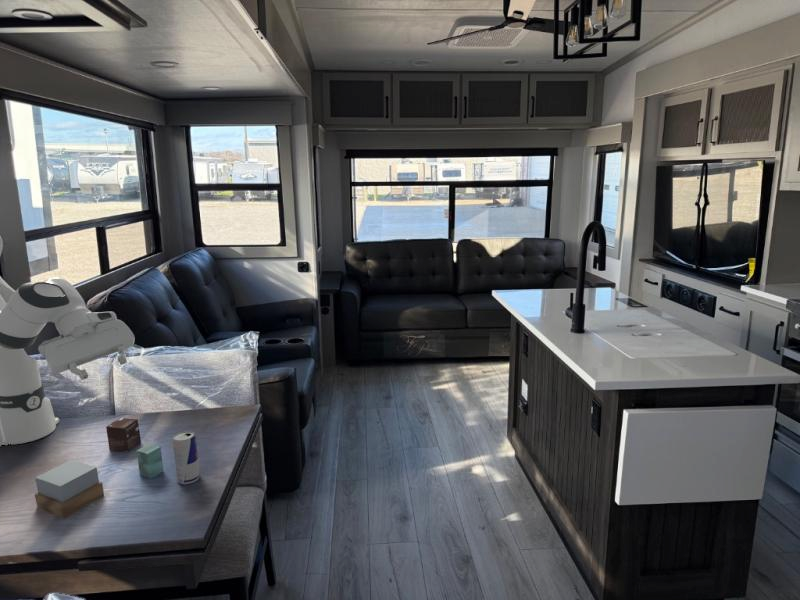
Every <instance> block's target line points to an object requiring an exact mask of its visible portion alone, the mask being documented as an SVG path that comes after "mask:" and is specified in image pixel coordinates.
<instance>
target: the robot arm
mask: <svg viewBox="0 0 800 600" xmlns="http://www.w3.org/2000/svg"><path fill="white" fill-rule="evenodd" d="M3 244H4V243H3V239H2V236H1V235H0V257H1V255H2V252H3V247H4V245H3ZM47 323H52V324H53V323H54V324H55V325H54V326H55V329H56V330H57V331H58V333H59V335H58V336H55V337H53V338H50V339H47V340H43V341H41V343H39V345H38V348H37V350H38V353H39V354H40V355H41V356H42V357H44V358H45V360H46V362H47V365H48V366H47V367H48V368H49V370H50V372H51V373H53V374H56V375H57V374H60V373H64V372H66V371H68V370H69V371H70V373H72V374H73V375H76V376H78V377H79V378H80V380H81V381H84V380H86V379H89V374H88V372H87V370H86V369H85V368H84V369H80V368H78V367H80V366H82V365H84V364H87V363H90V362H93V361H96V360H98V359H102V358H104V357H107V356H110V355H113V354H116V353H118V355H120V356H118V357H117V362H118V364H119V365H120V366H122V365H125V364H127V363H128V360H127V357H126V356H125V352H126V351H125V350H126V349H129V348H132V347H133V346H134V345H135V342H136V341H135V339H136V338H135V334H134V333H133V331H132V330H131V329H130V327H129V326H128V325H127V324H126V323H125V322H124V321H122V320H121V319H118V317H117V314H116V313H115V312H114V311H102V312H101V311H100V312H99V311H98V312H96V311H95V312H93V311H91V310H90V309H89V308H87V306H86V302H85V300H84V298H83V296H81V294H80V293H79V291H78V290H77V289H76V287H75V286H74V285H72V283H70V282H69V281H68V280H66V279H64V278H62V277H51V278H47V279H45V280H44V281H30V282H25V283H22V284H21V285H19V287H18V288H17V289H16V290H15V289H14V288H13V287H11V286H10V285H9V284H8V283H7V282H6V281H5V280H4V279H3V278H2V276H1V275H0V447H2V446H1V445H5V446H8V444H9V446H11V445H18V444H25V443H28V442H33V441H34V442H35V441H36V440H40V439H41V438H45V437H46V436H48V435H50V434H51V433H53V432H54V431H55V429H56V427H57V424H59V423H60V419H59V417H55V413H54V410H53V409H54V408H53V406H52V402H51V400H50V398H48V397H46V389H45V386H44V384H43V383H42V379H41V373H40V368H39V362H38V360H37V359H36V358H34V357H33V356H30V355H28V354H27V352H26V351H25V349H27V348H30V347H31V346H32V345H34V343H35V341H36V339H37V338H38V336H39V335H40V333H41V331H42V330H43V328H44V327H45V326H46V325H47ZM10 444H11V445H10Z"/></svg>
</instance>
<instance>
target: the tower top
mask: <svg viewBox="0 0 800 600" xmlns="http://www.w3.org/2000/svg"><path fill="white" fill-rule="evenodd" d="M98 473H99V472H98V469H97V467H96V466H94V465H91V464H88V463H84V462H81V461H78V460H75V459H69V461H66V462H64V463H61V464H60V465H58V466H56V467H54V468H52V469H50V470H48V471H46V472H44V473H41V474H40V475H38V476H35V483H36V488H37V492H38V493H40V494H42V495H45V496H48V497H50V498H53V499H56V500H58V501H61V502H64V501H66V500H68V499H70V498H71V497H73V496H75V495H77V494H79V493H81V492H82V491H84V490H86V489H88V488H90V487H91V486H93V485H95V484H97V483H99V481H100V480H99V475H98Z"/></svg>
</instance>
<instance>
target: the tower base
mask: <svg viewBox="0 0 800 600" xmlns="http://www.w3.org/2000/svg"><path fill="white" fill-rule="evenodd" d="M104 496H105V492H104V487H103V482H102V481H100V480H99V483H97V484H95V485H93V486H91V487H90V488H88V489H86V490H84V491H82V492H81V493H79V494H77V495H75V496H73V497H71V498H70V499H68V500H66V501H64V502H61V501H58V500H56V499H53V498H50V497H48V496H45V495H42V494H40V493H38V491H37V492H36V493H34V497H35V501H36V502H35V504H36V508H37V509H41V510H43V511H45V512H48V513H49V514H52V515H55V516H57V517H59V518H62V519H66V518H67V517H69V516H71V515H73V514H75V513H77V512H78V511H80V510H82V509H84V508H86V507H87V506H88V505H91V504H92V503H94V502H96V501H97V500H100V499H101V498H103V497H104Z"/></svg>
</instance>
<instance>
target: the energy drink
mask: <svg viewBox="0 0 800 600" xmlns="http://www.w3.org/2000/svg"><path fill="white" fill-rule="evenodd" d="M172 446H173V448H172V449H173V454H174V455H173V456H174V462H175V463H174V465H175V472H176V478H177V482H178V483H179V484H180V485H191V484H194V483H195V482H197V481H199V478H200V477H201V474H200V466H199V465H200V464H199V456H198V455H199V454H198V448H197V436H196V435H195V432H193V431H190V430H185V431H180V432H177V433H176V434H174V435H173V437H172Z"/></svg>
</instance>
